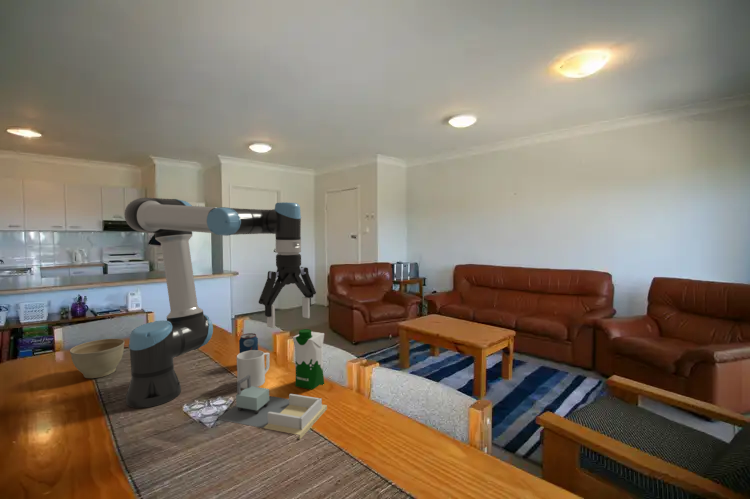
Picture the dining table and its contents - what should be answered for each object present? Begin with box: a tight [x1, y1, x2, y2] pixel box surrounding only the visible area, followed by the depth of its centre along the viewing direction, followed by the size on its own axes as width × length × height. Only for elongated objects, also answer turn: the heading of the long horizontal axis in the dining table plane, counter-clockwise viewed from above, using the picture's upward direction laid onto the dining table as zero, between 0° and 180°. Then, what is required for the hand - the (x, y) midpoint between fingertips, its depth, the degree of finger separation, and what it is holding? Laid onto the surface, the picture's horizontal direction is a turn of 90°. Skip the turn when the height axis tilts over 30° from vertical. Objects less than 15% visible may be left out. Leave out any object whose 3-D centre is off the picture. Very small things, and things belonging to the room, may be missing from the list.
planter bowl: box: [69, 338, 125, 379], centre depth 135 cm, size 16×16×11 cm
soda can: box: [238, 332, 259, 353], centre depth 142 cm, size 7×7×12 cm
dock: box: [217, 393, 328, 440], centre depth 104 cm, size 26×16×4 cm, turn 72°
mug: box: [236, 349, 270, 390], centre depth 125 cm, size 12×9×11 cm
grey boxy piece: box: [235, 375, 270, 414], centre depth 106 cm, size 7×6×9 cm
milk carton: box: [292, 328, 325, 391], centre depth 123 cm, size 9×9×20 cm
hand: (289, 322), depth 112 cm, fingers open, 13 cm apart
